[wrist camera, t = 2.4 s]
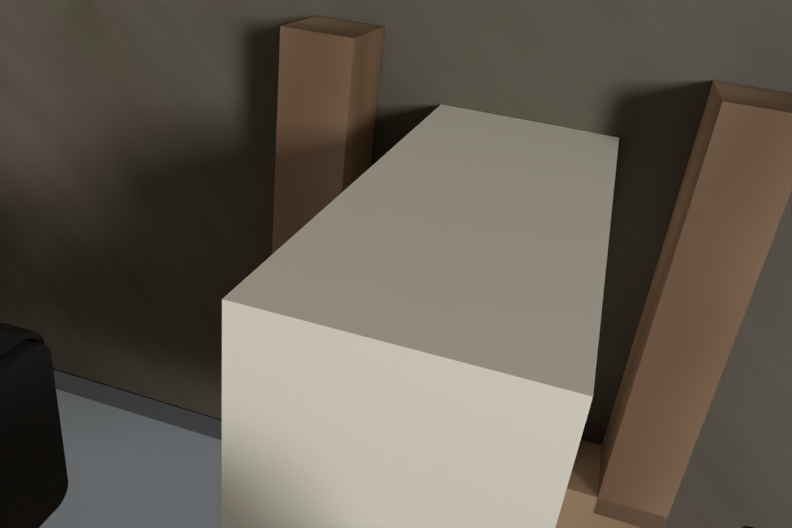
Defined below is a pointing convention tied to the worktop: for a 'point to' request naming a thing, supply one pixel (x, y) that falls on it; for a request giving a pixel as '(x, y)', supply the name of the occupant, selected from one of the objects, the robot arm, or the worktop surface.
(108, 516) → the charcoal pad
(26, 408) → the robot arm
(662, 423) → the walnut slot rack
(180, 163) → the worktop surface
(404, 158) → the cream blank
